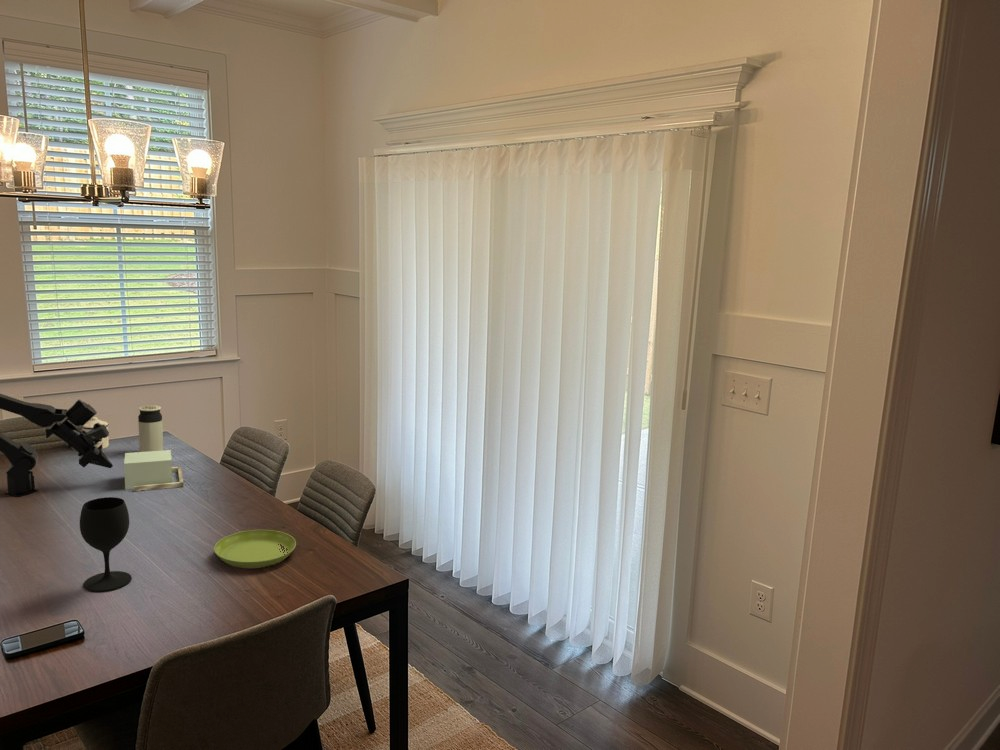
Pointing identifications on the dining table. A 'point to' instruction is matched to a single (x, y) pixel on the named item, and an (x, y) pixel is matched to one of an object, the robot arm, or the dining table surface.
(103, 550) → the wine glass
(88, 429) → the teacup with lid
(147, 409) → the travel mug
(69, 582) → the dining table surface
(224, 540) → the saucer
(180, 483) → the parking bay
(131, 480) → the sage box
